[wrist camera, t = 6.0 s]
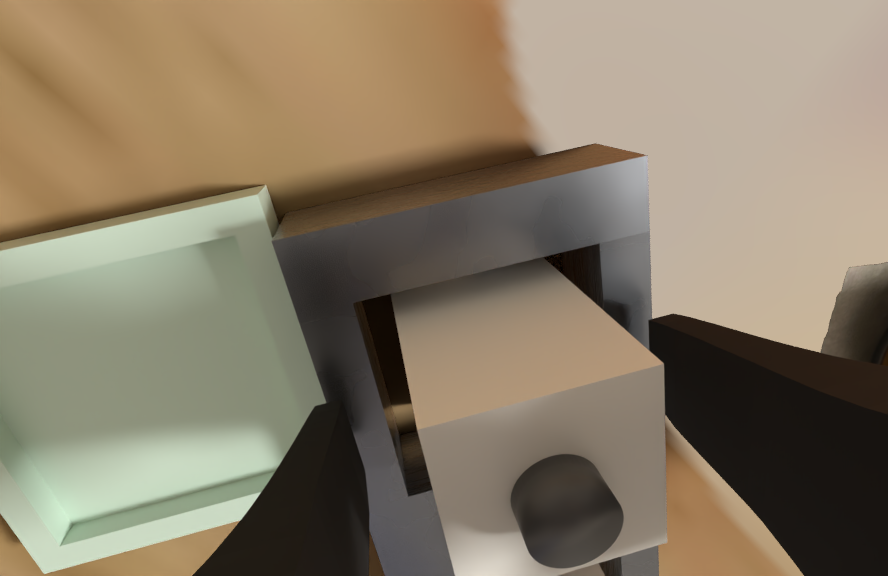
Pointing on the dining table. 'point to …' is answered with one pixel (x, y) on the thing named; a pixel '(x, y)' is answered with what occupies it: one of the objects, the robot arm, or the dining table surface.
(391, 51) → the dining table surface
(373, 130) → the dining table surface
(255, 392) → the tray
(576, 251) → the small drawer cabinet
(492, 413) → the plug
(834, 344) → the condiment
